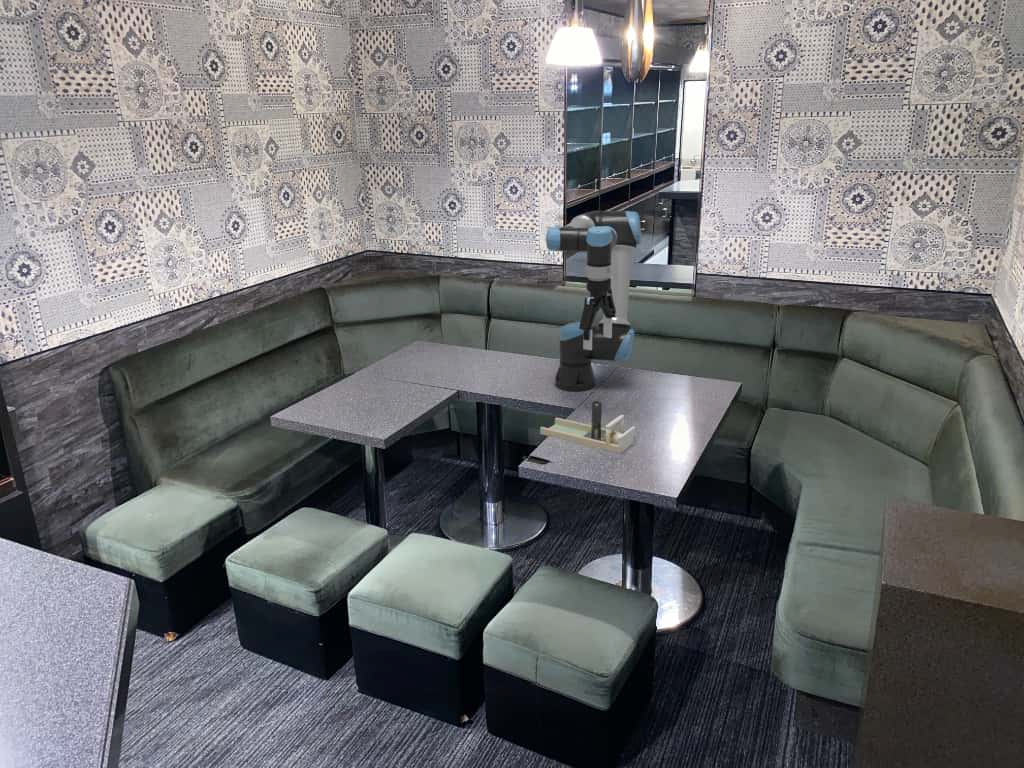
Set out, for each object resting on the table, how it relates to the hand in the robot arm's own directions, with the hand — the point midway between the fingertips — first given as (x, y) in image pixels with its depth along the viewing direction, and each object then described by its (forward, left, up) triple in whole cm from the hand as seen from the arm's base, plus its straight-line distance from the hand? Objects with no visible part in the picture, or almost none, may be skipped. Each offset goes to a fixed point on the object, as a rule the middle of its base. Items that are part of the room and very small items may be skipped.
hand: (597, 343), depth 249 cm
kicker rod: (+9, -16, -26) cm, 31 cm away
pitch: (+5, -16, -27) cm, 32 cm away
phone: (-1, -30, -28) cm, 40 cm away
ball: (+18, -16, -24) cm, 34 cm away
